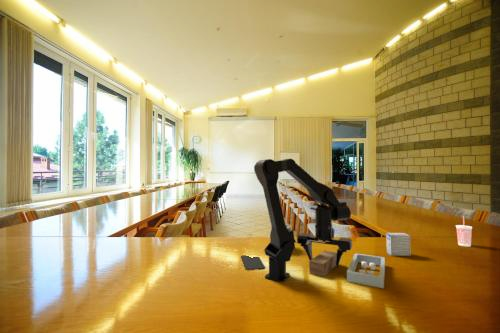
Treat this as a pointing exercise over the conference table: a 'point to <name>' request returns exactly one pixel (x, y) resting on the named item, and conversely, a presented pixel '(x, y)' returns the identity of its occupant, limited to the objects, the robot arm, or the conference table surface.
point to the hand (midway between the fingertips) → (324, 264)
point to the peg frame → (369, 277)
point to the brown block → (323, 263)
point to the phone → (252, 263)
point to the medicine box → (398, 244)
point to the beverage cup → (464, 234)
